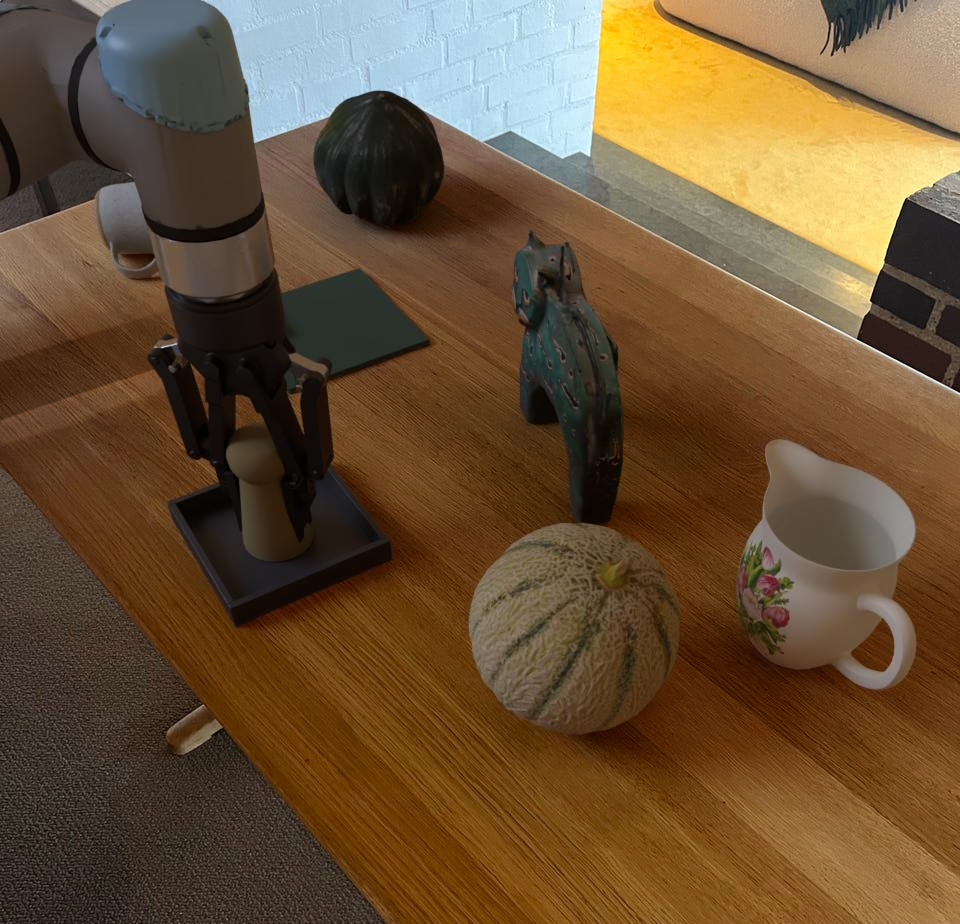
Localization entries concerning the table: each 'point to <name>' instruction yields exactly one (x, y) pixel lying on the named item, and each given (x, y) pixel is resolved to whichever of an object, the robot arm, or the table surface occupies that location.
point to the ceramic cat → (570, 373)
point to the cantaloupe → (575, 628)
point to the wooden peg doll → (263, 496)
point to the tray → (272, 585)
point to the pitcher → (825, 567)
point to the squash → (379, 158)
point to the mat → (347, 324)
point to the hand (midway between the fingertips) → (276, 525)
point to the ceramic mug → (124, 226)
